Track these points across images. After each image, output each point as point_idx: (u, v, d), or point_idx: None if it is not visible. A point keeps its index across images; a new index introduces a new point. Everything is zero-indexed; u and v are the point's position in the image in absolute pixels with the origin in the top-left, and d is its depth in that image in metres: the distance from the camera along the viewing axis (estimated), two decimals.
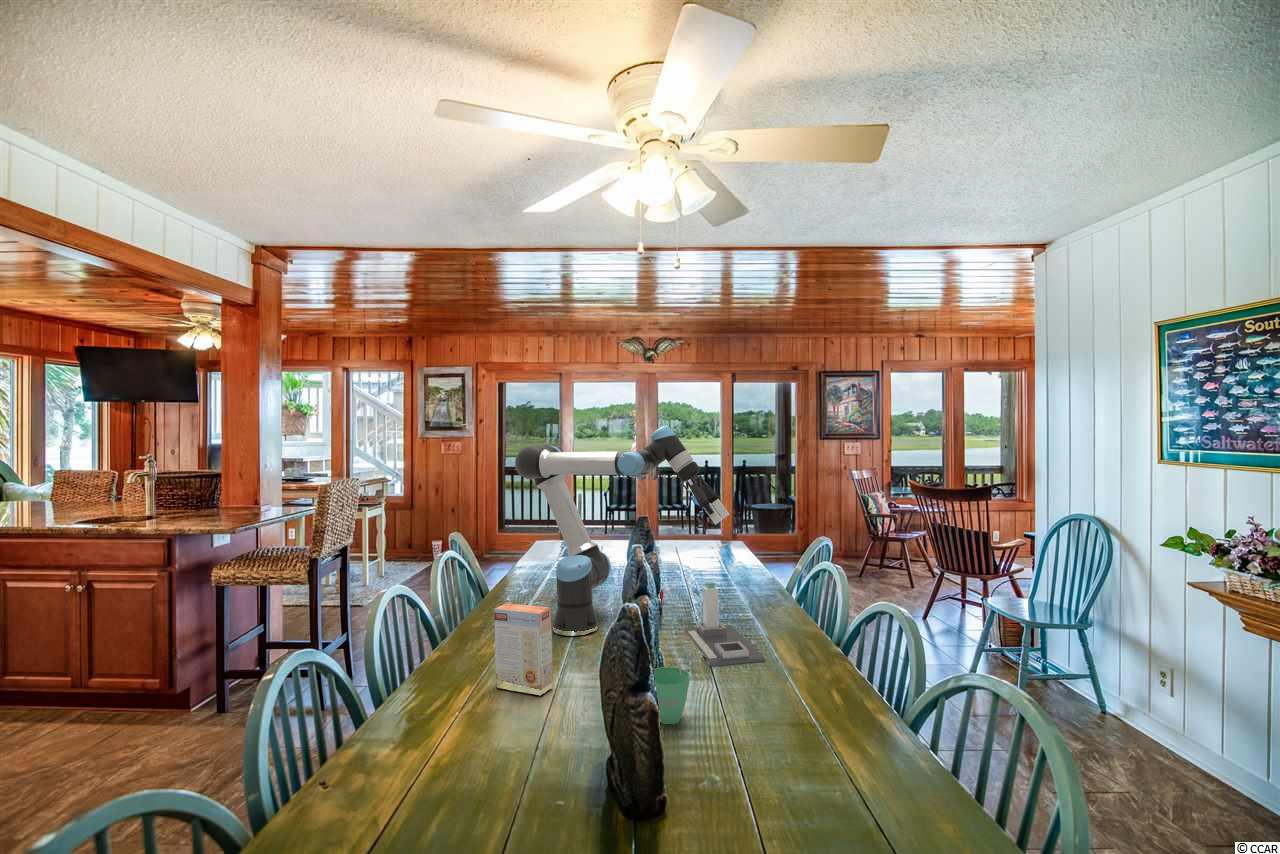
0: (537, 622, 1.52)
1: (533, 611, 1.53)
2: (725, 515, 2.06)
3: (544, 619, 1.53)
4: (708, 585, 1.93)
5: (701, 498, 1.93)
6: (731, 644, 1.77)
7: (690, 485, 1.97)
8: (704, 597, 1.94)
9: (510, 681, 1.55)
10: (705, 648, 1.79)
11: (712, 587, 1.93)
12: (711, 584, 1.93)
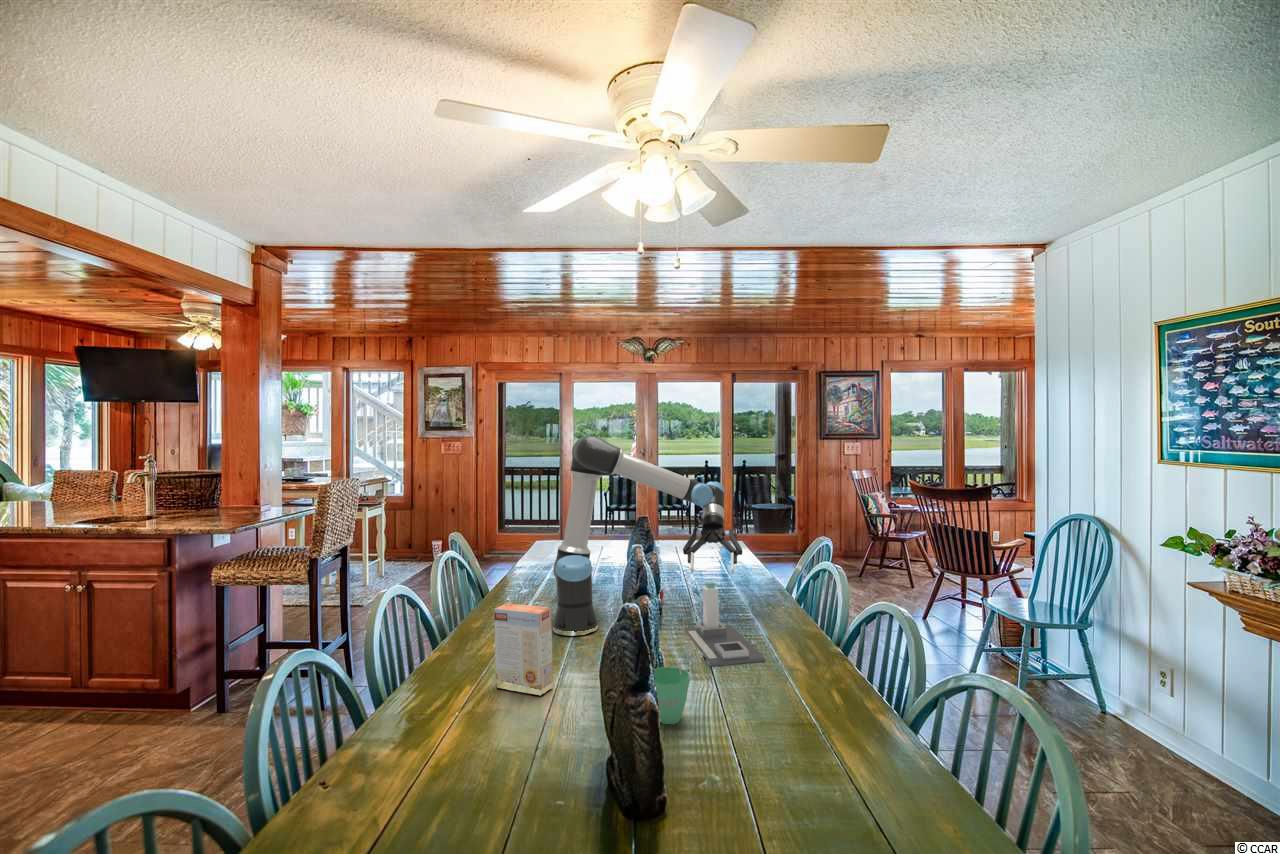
0: (537, 622, 1.52)
1: (533, 611, 1.53)
2: (692, 569, 2.06)
3: (544, 619, 1.53)
4: (708, 585, 1.93)
5: None
6: (731, 644, 1.77)
7: None
8: (704, 597, 1.94)
9: (510, 681, 1.55)
10: (705, 648, 1.79)
11: (712, 587, 1.93)
12: (711, 584, 1.93)
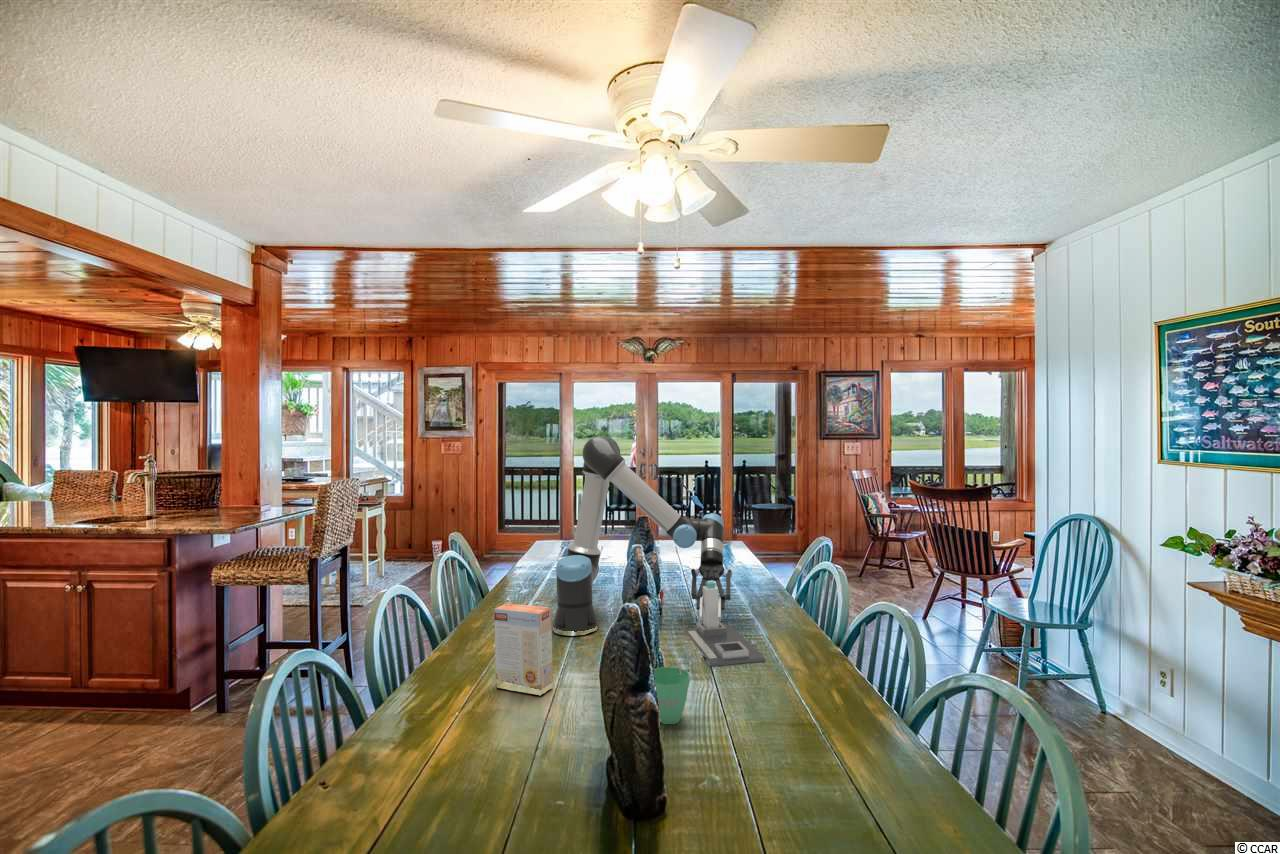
0: (537, 622, 1.52)
1: (533, 611, 1.53)
2: (702, 617, 1.91)
3: (544, 619, 1.53)
4: (708, 585, 1.93)
5: None
6: (731, 644, 1.77)
7: (729, 575, 2.00)
8: (704, 597, 1.94)
9: (510, 681, 1.55)
10: (705, 648, 1.79)
11: (712, 587, 1.93)
12: (711, 584, 1.93)
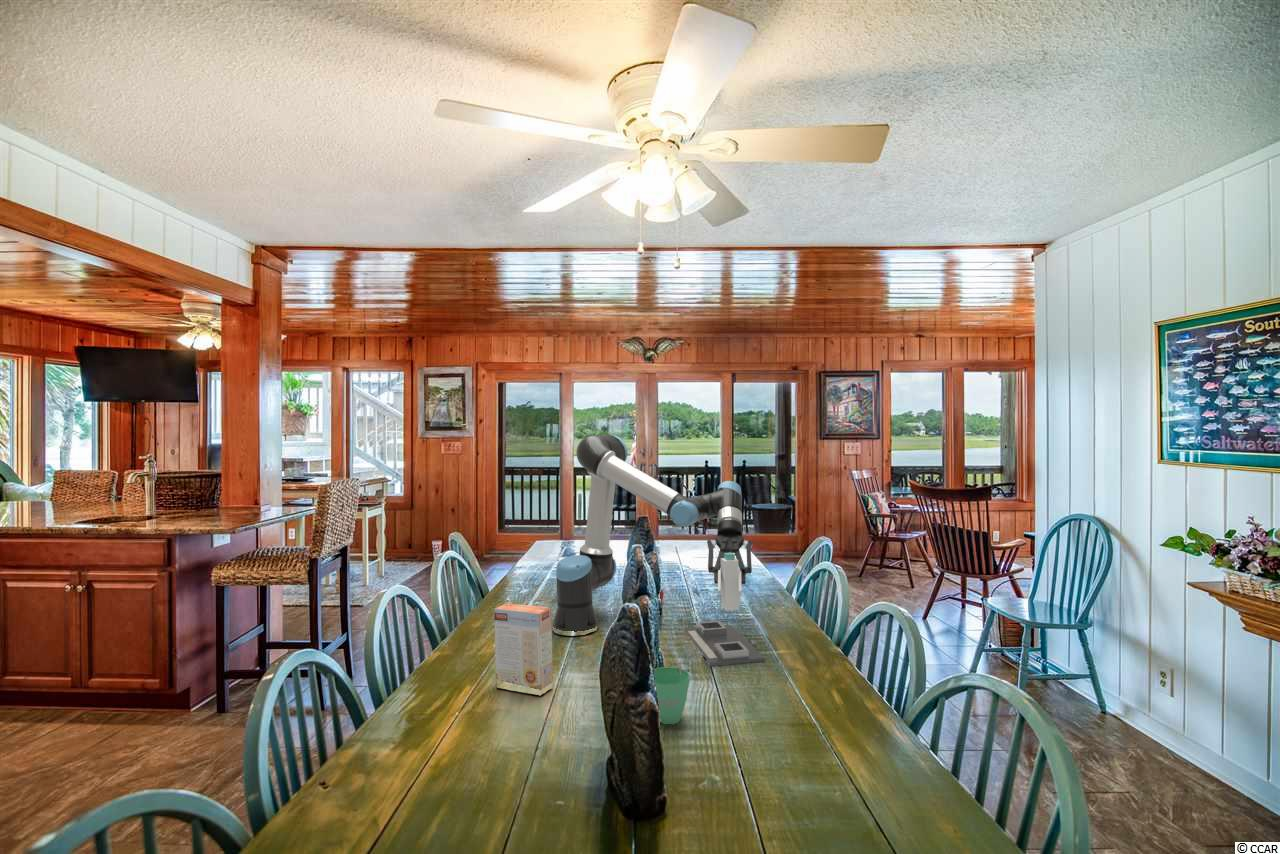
0: (537, 622, 1.52)
1: (533, 611, 1.53)
2: (720, 591, 1.72)
3: (544, 619, 1.53)
4: (727, 556, 1.74)
5: None
6: (731, 644, 1.77)
7: None
8: (723, 570, 1.74)
9: (510, 681, 1.55)
10: (705, 648, 1.79)
11: (732, 559, 1.74)
12: (730, 555, 1.74)
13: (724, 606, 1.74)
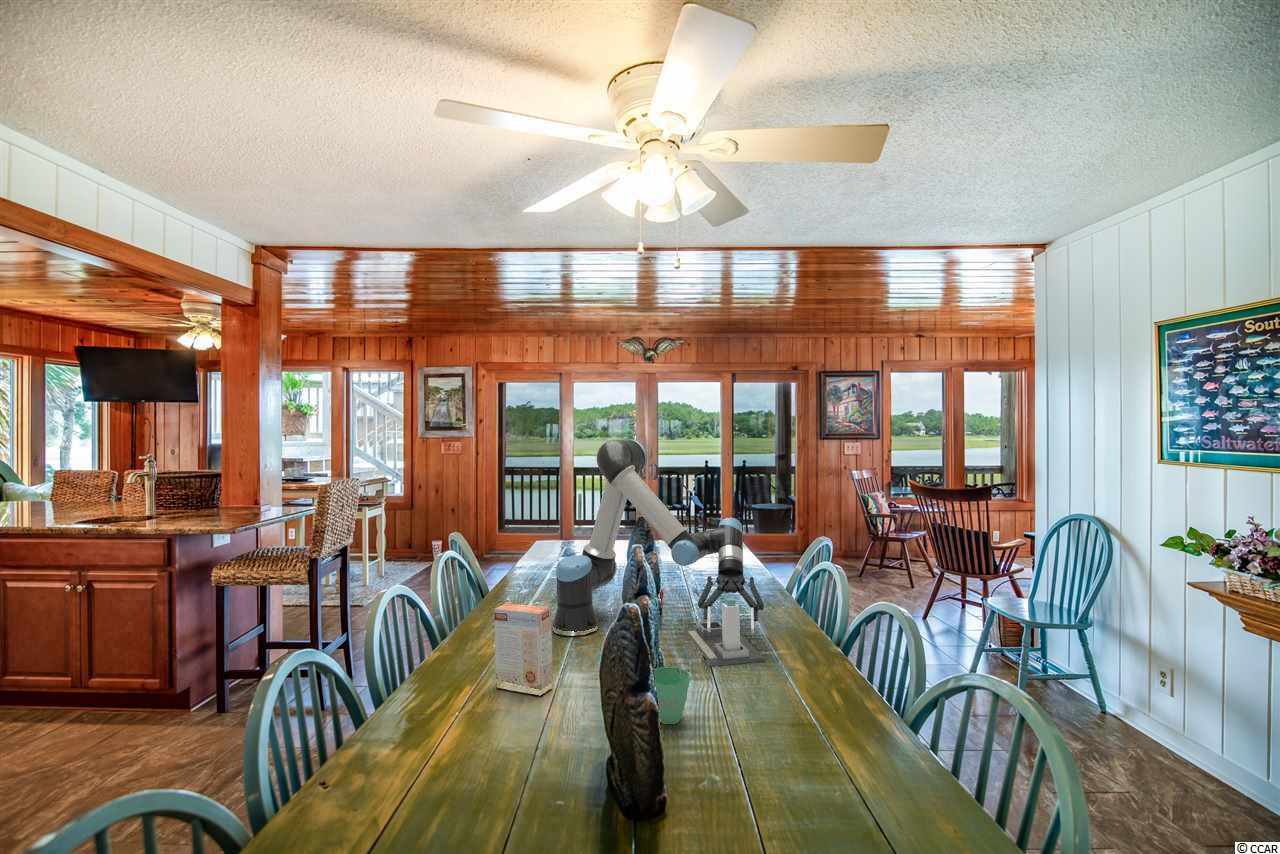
0: (537, 622, 1.52)
1: (533, 611, 1.53)
2: (710, 628, 1.73)
3: (544, 619, 1.53)
4: (728, 602, 1.73)
5: None
6: None
7: None
8: (723, 615, 1.74)
9: (510, 681, 1.55)
10: (705, 648, 1.79)
11: (732, 604, 1.74)
12: (731, 601, 1.74)
13: None
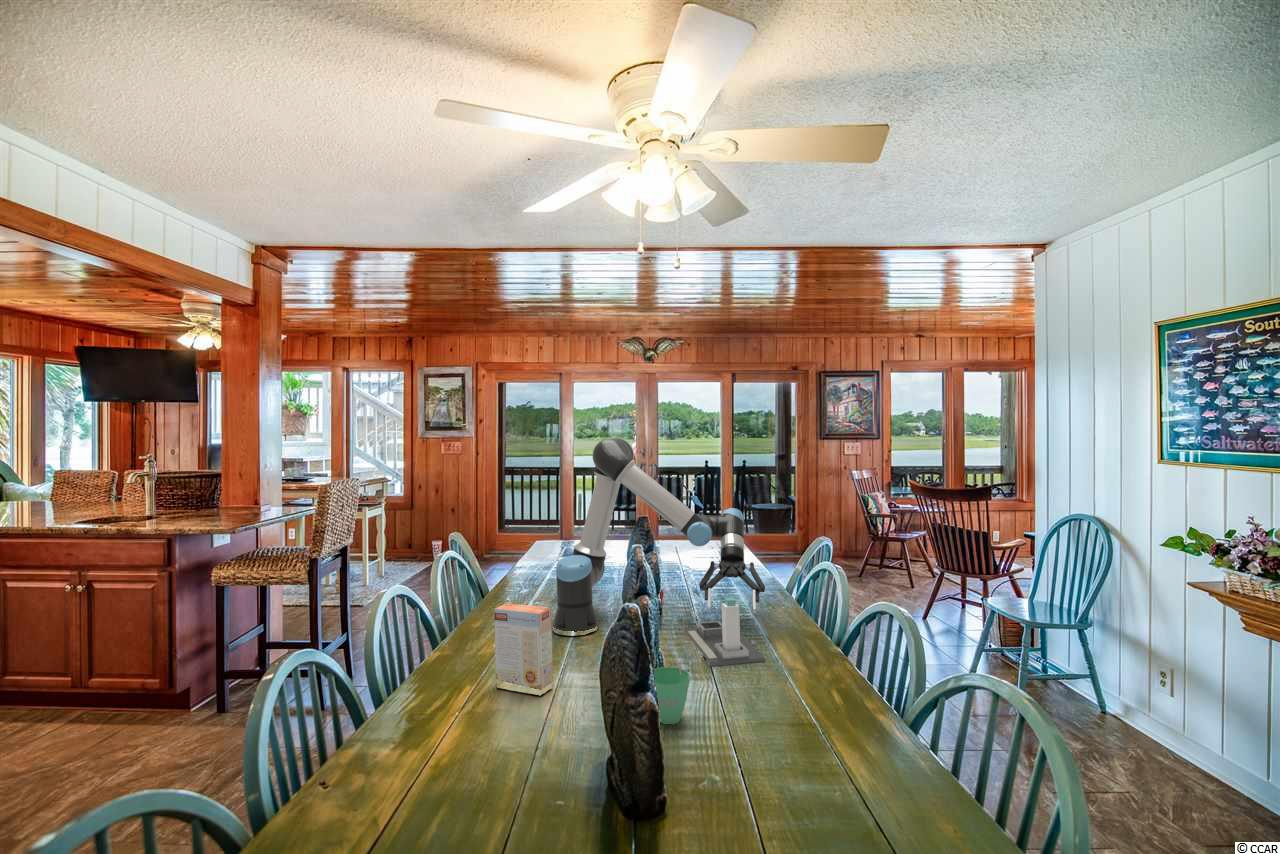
0: (537, 622, 1.52)
1: (533, 611, 1.53)
2: (710, 608, 1.87)
3: (544, 619, 1.53)
4: (728, 602, 1.73)
5: None
6: None
7: (753, 568, 1.94)
8: (723, 615, 1.74)
9: (510, 681, 1.55)
10: (705, 648, 1.79)
11: (732, 604, 1.74)
12: (731, 601, 1.74)
13: None
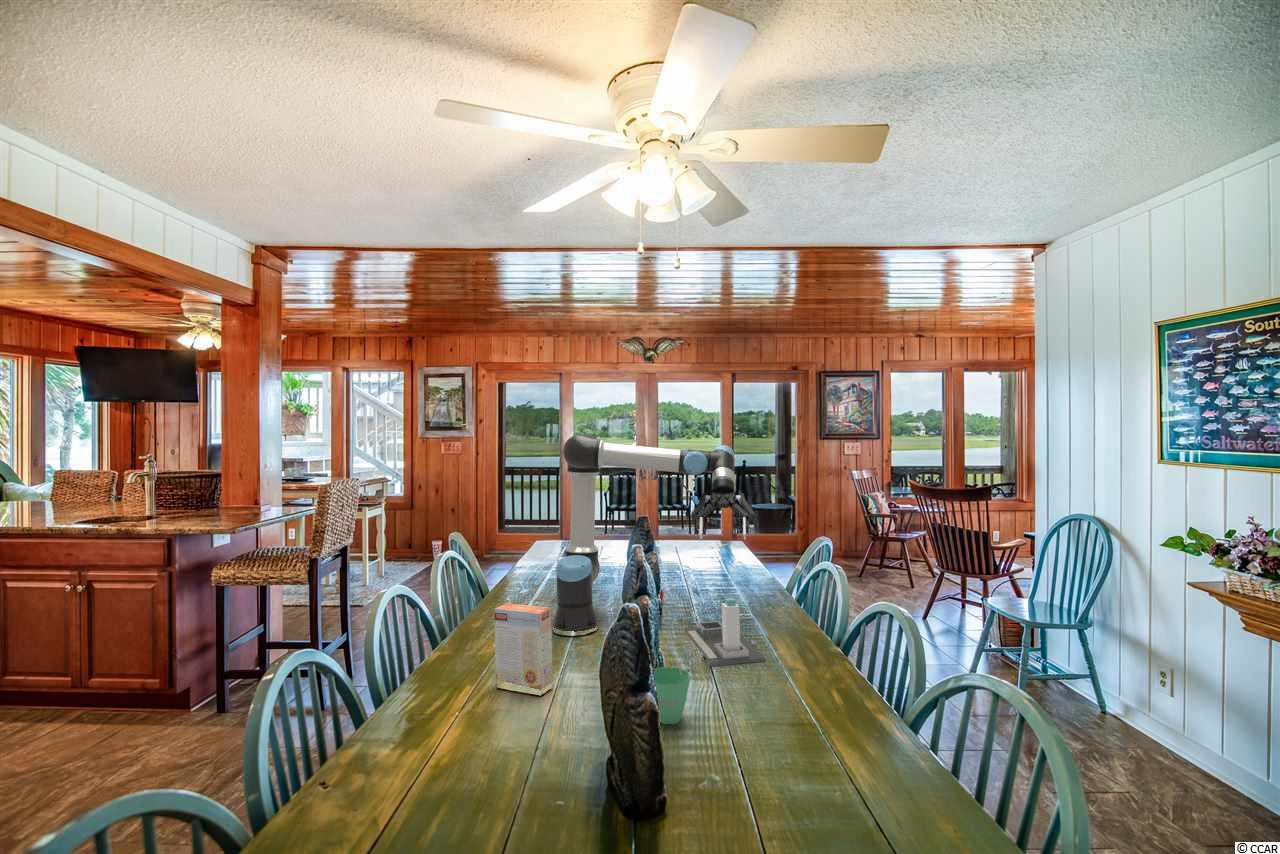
0: (537, 622, 1.52)
1: (533, 611, 1.53)
2: None
3: (544, 619, 1.53)
4: (728, 602, 1.73)
5: None
6: None
7: None
8: (723, 615, 1.74)
9: (510, 681, 1.55)
10: (705, 648, 1.79)
11: (732, 604, 1.74)
12: (731, 601, 1.74)
13: None
